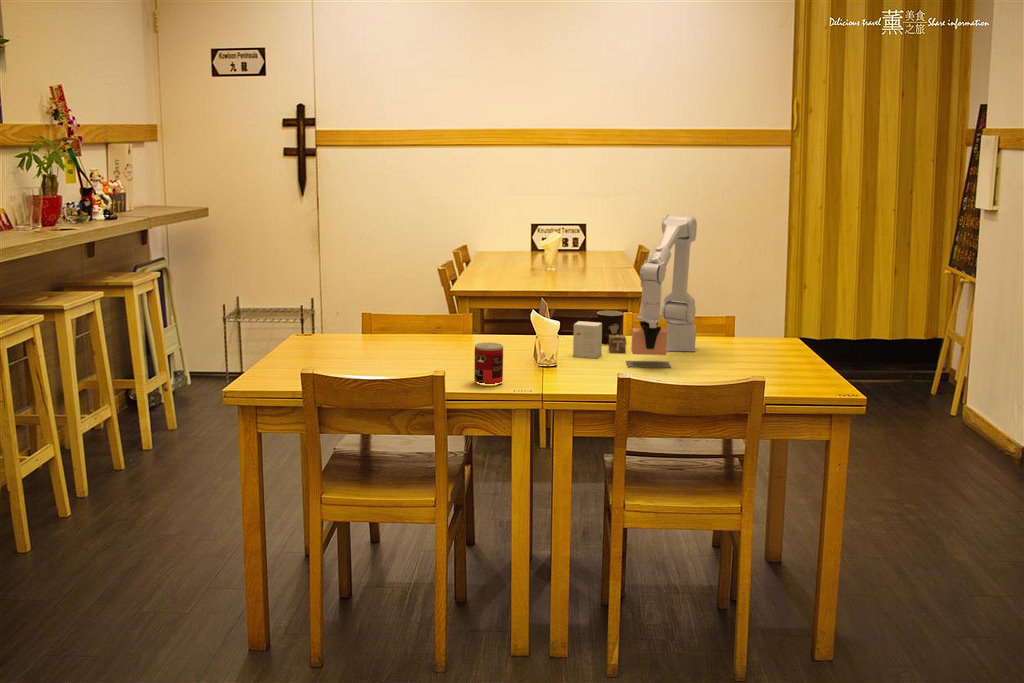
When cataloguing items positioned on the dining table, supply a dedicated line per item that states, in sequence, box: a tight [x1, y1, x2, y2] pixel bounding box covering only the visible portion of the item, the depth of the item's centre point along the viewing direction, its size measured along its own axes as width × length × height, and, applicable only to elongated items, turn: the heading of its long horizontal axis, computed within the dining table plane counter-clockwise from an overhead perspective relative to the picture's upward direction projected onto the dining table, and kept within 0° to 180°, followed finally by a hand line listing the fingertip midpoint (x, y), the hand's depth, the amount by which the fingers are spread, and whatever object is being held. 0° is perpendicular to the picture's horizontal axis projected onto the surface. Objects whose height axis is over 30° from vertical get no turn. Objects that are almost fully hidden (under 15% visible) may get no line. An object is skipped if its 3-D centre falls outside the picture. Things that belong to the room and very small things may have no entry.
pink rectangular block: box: [630, 328, 667, 356], centre depth 316 cm, size 10×5×7 cm, turn 89°
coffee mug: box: [587, 310, 624, 346], centre depth 346 cm, size 12×9×10 cm
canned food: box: [474, 342, 504, 384], centre depth 292 cm, size 8×8×11 cm
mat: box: [625, 360, 672, 369], centre depth 317 cm, size 13×7×1 cm, turn 89°
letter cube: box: [608, 334, 627, 354], centre depth 334 cm, size 5×5×5 cm
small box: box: [572, 320, 603, 359], centre depth 327 cm, size 8×6×10 cm
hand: (649, 346), depth 316 cm, fingers closed on pink rectangular block, 5 cm apart
